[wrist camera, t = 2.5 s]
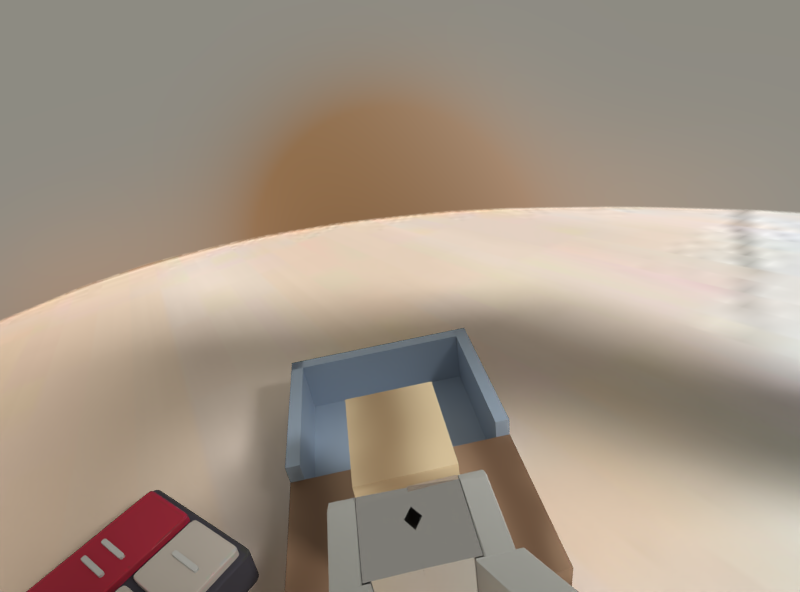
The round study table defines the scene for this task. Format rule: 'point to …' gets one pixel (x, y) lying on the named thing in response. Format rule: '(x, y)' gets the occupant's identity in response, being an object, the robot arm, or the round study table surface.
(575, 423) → the round study table surface
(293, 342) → the round study table surface
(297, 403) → the tray
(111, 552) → the calculator
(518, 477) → the walnut plate
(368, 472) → the oak block
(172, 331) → the round study table surface
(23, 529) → the round study table surface
